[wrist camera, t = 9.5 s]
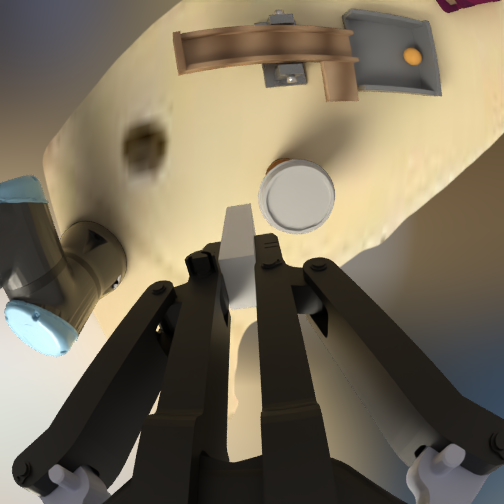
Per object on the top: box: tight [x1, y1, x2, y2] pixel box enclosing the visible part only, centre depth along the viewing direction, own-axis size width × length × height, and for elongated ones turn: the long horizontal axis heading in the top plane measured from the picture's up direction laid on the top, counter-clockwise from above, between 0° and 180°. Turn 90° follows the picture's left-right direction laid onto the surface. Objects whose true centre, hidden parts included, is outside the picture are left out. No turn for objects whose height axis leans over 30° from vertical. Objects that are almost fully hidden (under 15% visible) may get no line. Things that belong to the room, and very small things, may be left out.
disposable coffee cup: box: [258, 158, 335, 234], centre depth 37 cm, size 10×10×12 cm
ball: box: [403, 48, 422, 65], centre depth 30 cm, size 3×3×3 cm
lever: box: [173, 25, 359, 102], centre depth 28 cm, size 24×11×3 cm, turn 98°
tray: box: [342, 9, 442, 96], centre depth 30 cm, size 14×14×5 cm
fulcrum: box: [255, 10, 306, 88], centre depth 30 cm, size 6×11×7 cm, turn 9°
